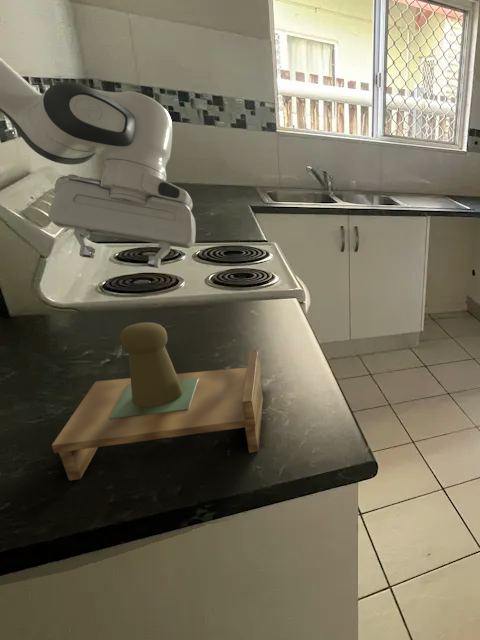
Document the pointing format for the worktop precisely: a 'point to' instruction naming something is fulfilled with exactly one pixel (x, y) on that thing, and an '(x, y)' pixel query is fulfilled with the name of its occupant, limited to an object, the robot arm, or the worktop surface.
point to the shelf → (162, 413)
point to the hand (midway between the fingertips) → (120, 262)
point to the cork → (150, 365)
